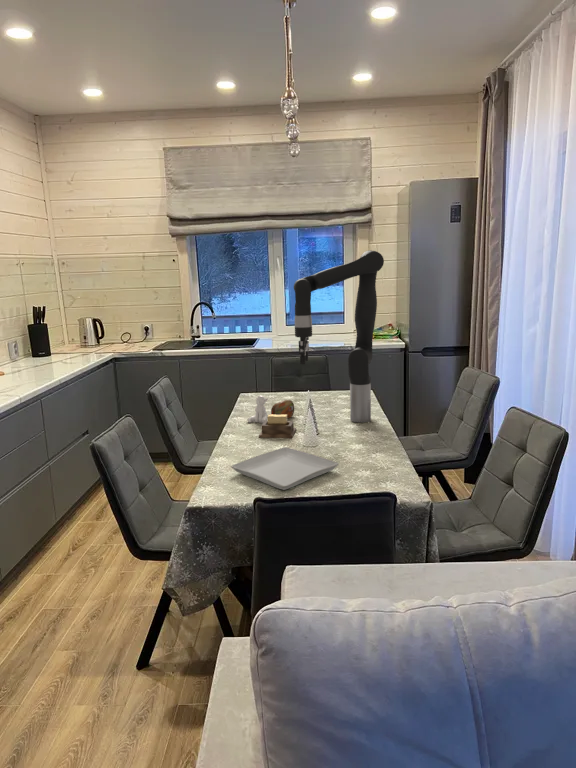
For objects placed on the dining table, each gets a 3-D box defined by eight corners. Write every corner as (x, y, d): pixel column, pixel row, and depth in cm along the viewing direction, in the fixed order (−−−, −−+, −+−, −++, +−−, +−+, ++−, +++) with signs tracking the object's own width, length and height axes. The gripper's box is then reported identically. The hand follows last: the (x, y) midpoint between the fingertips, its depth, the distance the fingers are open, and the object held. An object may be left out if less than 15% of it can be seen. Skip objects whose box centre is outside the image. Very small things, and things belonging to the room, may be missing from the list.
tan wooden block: (287, 430, 240) (287, 414, 238) (286, 432, 237) (286, 416, 236) (269, 430, 241) (268, 414, 240) (268, 432, 238) (267, 416, 237)
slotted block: (296, 429, 244) (296, 419, 243) (291, 438, 232) (291, 427, 231) (264, 429, 246) (264, 419, 245) (259, 437, 235) (258, 427, 234)
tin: (275, 423, 255) (274, 405, 253) (270, 422, 257) (269, 404, 255) (295, 415, 267) (294, 398, 265) (289, 414, 269) (289, 397, 267)
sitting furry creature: (246, 422, 258) (245, 397, 255) (255, 417, 265) (254, 393, 263) (265, 424, 254) (263, 398, 251) (273, 419, 262) (272, 394, 259)
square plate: (229, 475, 194) (229, 464, 194) (286, 455, 213) (285, 445, 212) (284, 496, 175) (283, 484, 175) (340, 472, 194) (340, 461, 193)
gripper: (309, 327, 235) (310, 365, 239) (313, 323, 249) (314, 359, 252) (292, 327, 237) (293, 365, 240) (297, 324, 250) (298, 359, 254)
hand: (304, 362), depth 246 cm, fingers open, 8 cm apart
